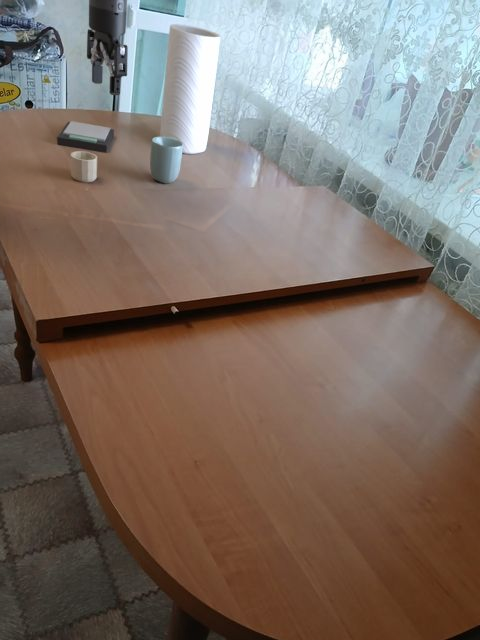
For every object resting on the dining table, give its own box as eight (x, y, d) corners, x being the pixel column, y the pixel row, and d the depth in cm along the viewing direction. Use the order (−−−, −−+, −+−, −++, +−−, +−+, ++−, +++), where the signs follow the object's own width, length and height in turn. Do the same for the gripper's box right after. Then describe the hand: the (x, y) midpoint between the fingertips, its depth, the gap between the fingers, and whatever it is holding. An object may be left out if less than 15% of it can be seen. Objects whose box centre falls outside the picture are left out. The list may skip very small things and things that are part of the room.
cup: (170, 188, 139) (174, 149, 133) (143, 179, 140) (146, 140, 134) (183, 180, 145) (188, 142, 139) (157, 172, 146) (160, 134, 140)
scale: (57, 144, 148) (57, 134, 146) (68, 128, 160) (68, 119, 158) (106, 152, 150) (106, 143, 149) (113, 136, 162) (114, 127, 160)
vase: (215, 152, 169) (232, 38, 150) (181, 157, 159) (194, 36, 140) (184, 136, 175) (196, 25, 156) (149, 140, 165) (157, 22, 147)
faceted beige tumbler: (68, 180, 131) (68, 157, 127) (73, 171, 135) (73, 149, 132) (94, 184, 132) (95, 162, 128) (98, 175, 137) (98, 153, 133)
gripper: (75, -4, 114) (76, 79, 124) (107, 11, 107) (105, 98, 116) (108, 0, 119) (106, 80, 128) (141, 15, 111) (136, 99, 121)
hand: (105, 88), depth 122 cm, fingers open, 8 cm apart
